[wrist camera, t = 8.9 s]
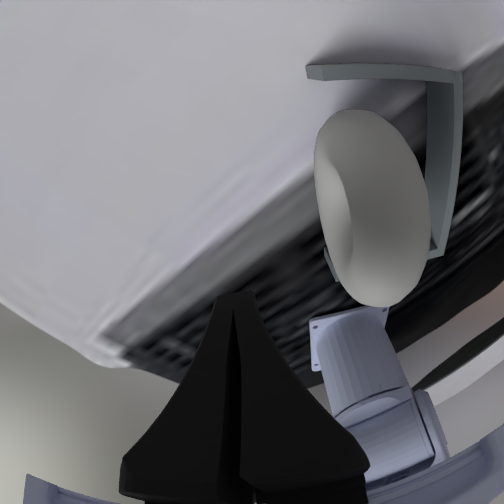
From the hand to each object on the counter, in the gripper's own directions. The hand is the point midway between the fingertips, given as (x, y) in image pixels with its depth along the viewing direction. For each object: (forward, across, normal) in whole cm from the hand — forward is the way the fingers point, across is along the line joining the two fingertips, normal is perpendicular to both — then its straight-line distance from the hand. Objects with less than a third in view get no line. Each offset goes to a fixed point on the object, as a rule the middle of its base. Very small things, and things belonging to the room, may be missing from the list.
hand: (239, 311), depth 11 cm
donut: (+10, -7, -1) cm, 12 cm away
